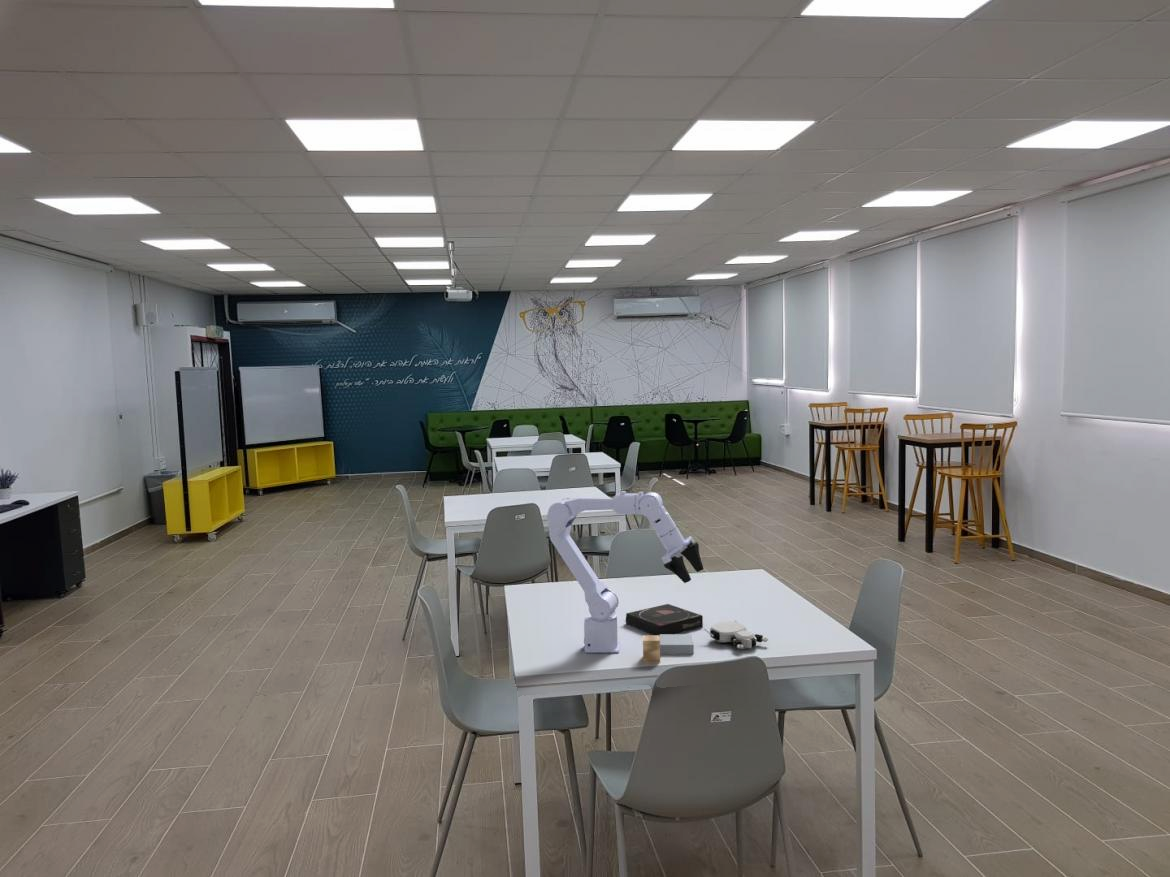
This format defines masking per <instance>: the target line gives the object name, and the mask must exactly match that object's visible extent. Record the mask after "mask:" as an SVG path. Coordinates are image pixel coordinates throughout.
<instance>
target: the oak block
mask: <svg viewBox="0 0 1170 877" xmlns="http://www.w3.org/2000/svg"><path fill="white" fill-rule="evenodd" d="M642 661H643V663H645V664H647V663H648V664H650V663H652V664H653V663H655V664H656V663H657V664H658V663H661V651H660V636H659V635H652V634H648V635H642Z"/></svg>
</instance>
